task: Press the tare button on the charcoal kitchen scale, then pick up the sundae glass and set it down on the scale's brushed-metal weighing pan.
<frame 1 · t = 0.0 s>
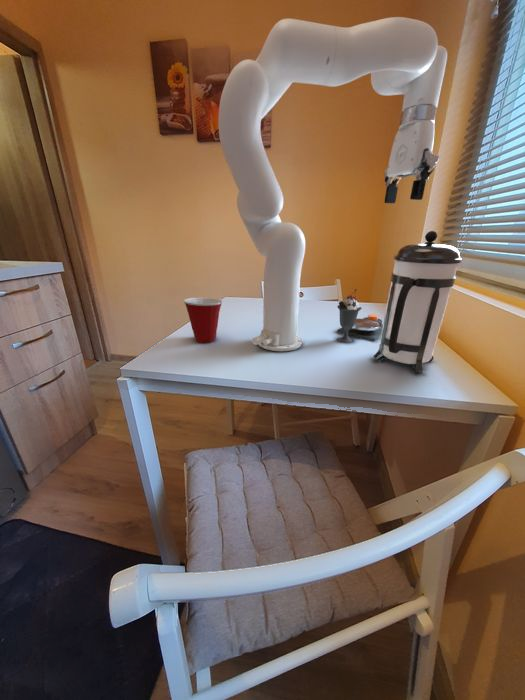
hand: (402, 201, 73), 37 cm above the table, tool pointing down, fingers open, 9 cm apart
sundae: (344, 341, 83), on the table
plastic cup: (206, 340, 82), on the table
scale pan: (361, 332, 89), resting on scale
scale: (365, 330, 91), on the table
tare button: (372, 318, 94), point 3 cm above the table, slide at 0.1 cm
coffee press: (402, 363, 69), on the table
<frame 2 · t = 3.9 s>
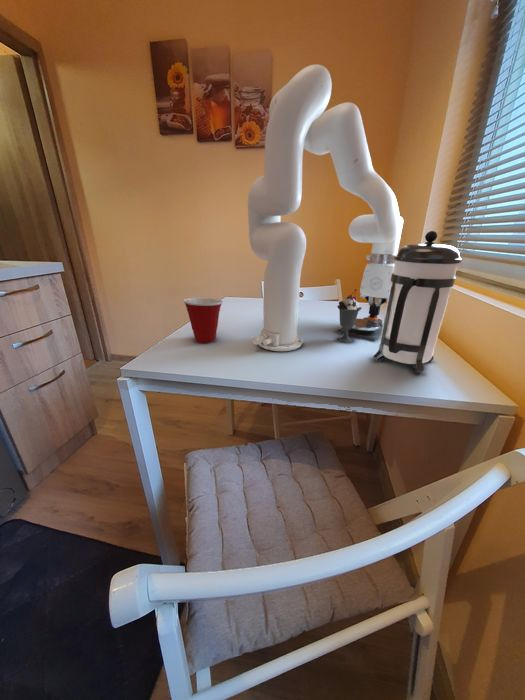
hand: (373, 316, 94), 4 cm above the table, tool pointing down, fingers closed
tare button: (372, 319, 94), point 3 cm above the table, slide at -0.2 cm, touching gripper
everything else where it was.
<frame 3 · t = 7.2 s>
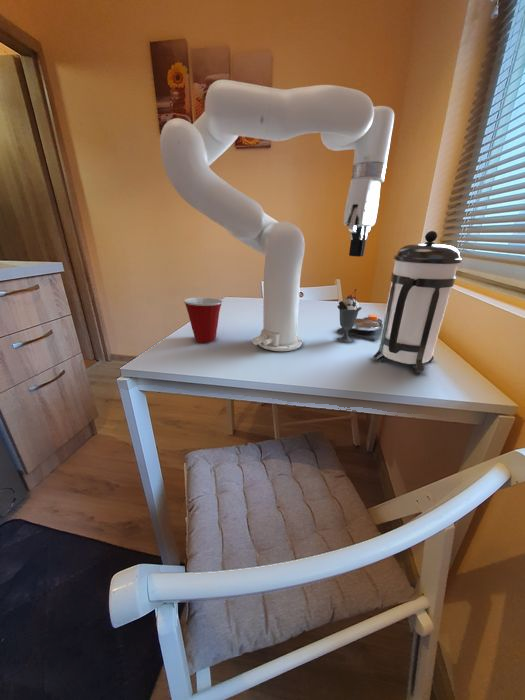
hand: (356, 255, 73), 24 cm above the table, tool pointing down, fingers closed
tare button: (372, 318, 94), point 3 cm above the table, slide at 0.1 cm
everything else where it was.
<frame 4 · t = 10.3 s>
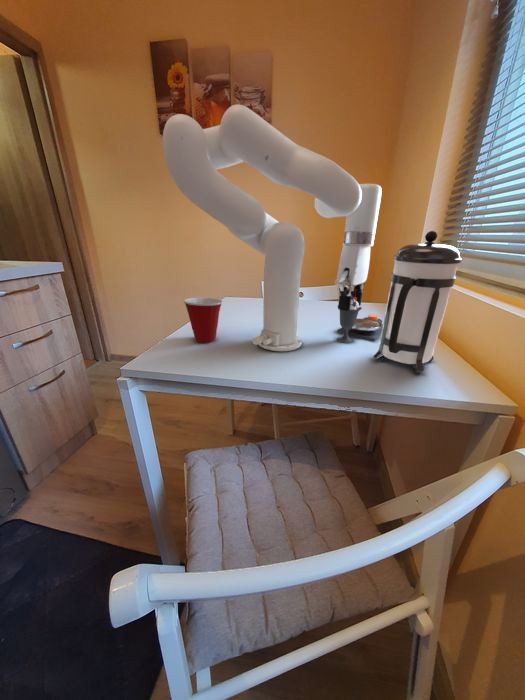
hand: (349, 307, 79), 10 cm above the table, tool pointing down, fingers closed on sundae, 6 cm apart
sundae: (344, 341, 83), on the table, touching gripper
everything else where it was.
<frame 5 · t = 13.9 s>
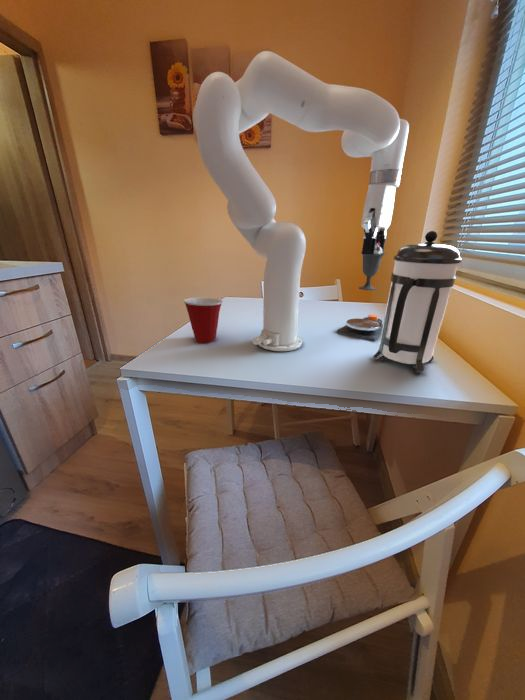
hand: (372, 253, 79), 24 cm above the table, tool pointing down, fingers closed on sundae, 6 cm apart
sundae: (367, 289, 83), point 14 cm above the table, touching gripper
everything else where it was.
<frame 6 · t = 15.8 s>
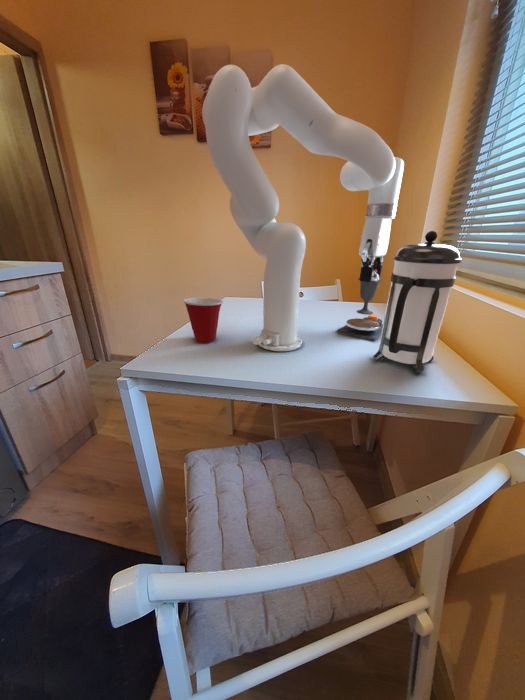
hand: (369, 279, 82), 17 cm above the table, tool pointing down, fingers closed on sundae, 6 cm apart
sundae: (364, 313, 86), point 7 cm above the table, touching gripper
everything else where it was.
when the fingers open (13 cm above the table, at t = 17.4 s): sundae stays where it is, resting on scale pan.
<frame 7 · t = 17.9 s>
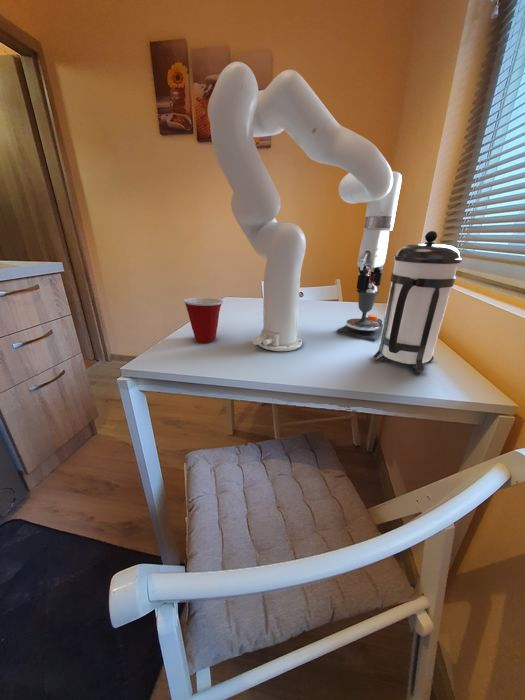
hand: (368, 287, 83), 15 cm above the table, tool pointing down, fingers open, 9 cm apart
sundae: (362, 323, 88), point 3 cm above the table, touching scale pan
everything else where it was.
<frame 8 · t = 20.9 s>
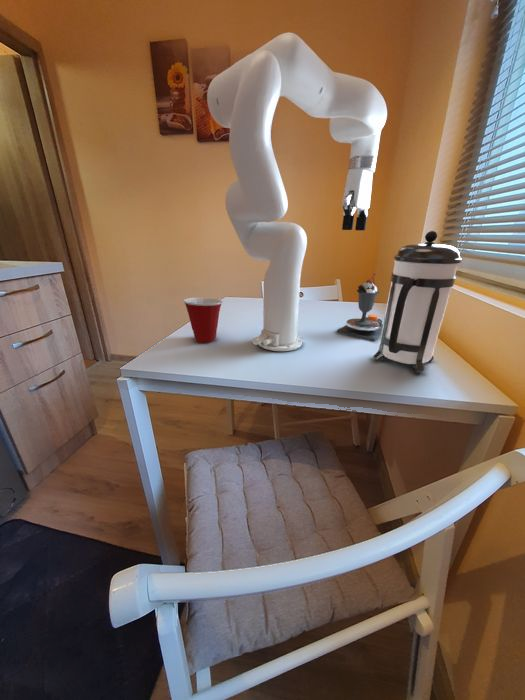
hand: (353, 230, 88), 30 cm above the table, tool pointing down, fingers open, 9 cm apart
nothing on the table moved.
at the end: tare button pushed in 0.9 cm at the most during the clip, back to where it started at the end; sundae 0.1 cm off-centre on the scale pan, point 3.1 cm above the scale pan's base; sundae tilted 0° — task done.
